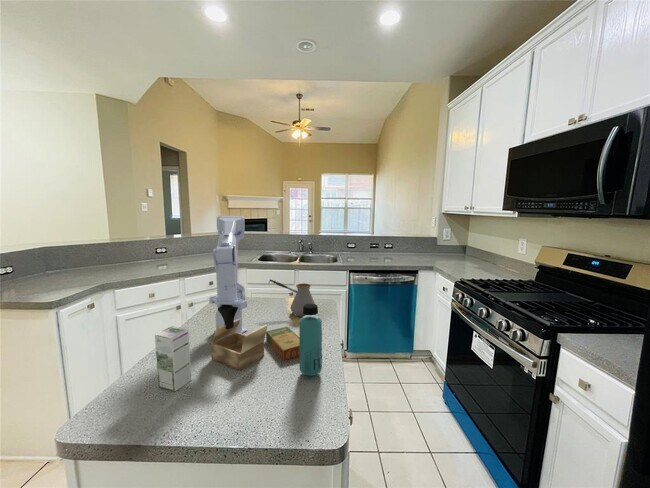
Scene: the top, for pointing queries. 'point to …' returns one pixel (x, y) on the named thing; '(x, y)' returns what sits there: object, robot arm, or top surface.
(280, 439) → the top surface
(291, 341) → the carton
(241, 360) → the cardboard box
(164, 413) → the top surface
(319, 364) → the beverage bottle
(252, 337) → the flap
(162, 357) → the syrup box
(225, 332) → the flap
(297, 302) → the coffee pot
